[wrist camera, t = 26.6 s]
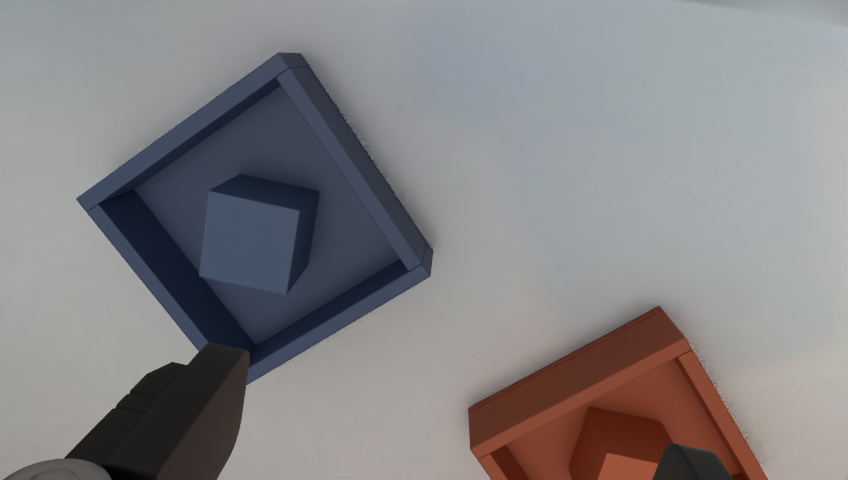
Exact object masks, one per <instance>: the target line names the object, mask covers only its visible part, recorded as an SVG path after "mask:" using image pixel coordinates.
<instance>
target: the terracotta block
mask: <svg viewBox="0 0 848 480" xmlns="http://www.w3.org/2000/svg"><path fill="white" fill-rule="evenodd" d="M671 443H673V441H672V439H671V438H670V436H669V434H668V432H667V431H666V429H665V427H664V425H663V424H662V422H659V421H654V420H650V419H645V418H640V417H636V416H631V415H627V414H622V413H617V412H613V411H608V410H603V409H599V408H594V407H589V408H588V411H587V414H586V417H585V420H584V423H583V426H582V429H581V432H580V435H579V438H578V441H577V444H576V447H575V450H574V453H573V456H572V459H571V462H570V465H569V472H570V475H571V479H572V480H652V479H653V476H654V474H655V471H656V469H657V466H658V463H659V461H660V458H661V456H662V453H663V451H664V449H665V448H666V447H667V446H668V445H669V444H671Z"/></svg>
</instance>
